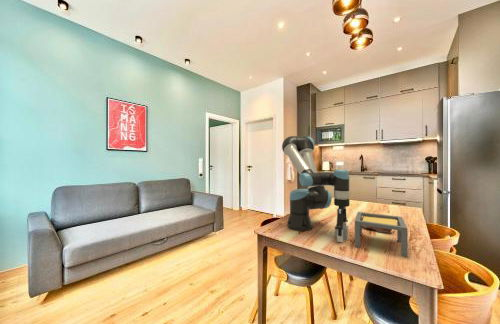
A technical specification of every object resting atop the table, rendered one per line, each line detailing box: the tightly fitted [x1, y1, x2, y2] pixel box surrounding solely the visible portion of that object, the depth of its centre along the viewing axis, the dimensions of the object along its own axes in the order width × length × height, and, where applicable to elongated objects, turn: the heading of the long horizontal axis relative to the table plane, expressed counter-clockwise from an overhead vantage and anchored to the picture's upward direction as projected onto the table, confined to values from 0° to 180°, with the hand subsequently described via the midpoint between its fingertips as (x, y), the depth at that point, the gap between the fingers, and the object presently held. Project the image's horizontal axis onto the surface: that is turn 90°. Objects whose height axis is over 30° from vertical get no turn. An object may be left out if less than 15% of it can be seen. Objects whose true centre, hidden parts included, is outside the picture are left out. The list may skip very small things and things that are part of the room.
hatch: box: [362, 216, 397, 227], centre depth 98 cm, size 14×14×1 cm
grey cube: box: [334, 223, 349, 242], centre depth 106 cm, size 6×6×6 cm
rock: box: [362, 216, 393, 234], centre depth 118 cm, size 16×11×15 cm
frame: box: [354, 211, 409, 258], centre depth 98 cm, size 20×20×12 cm
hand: (342, 237), depth 106 cm, fingers open, 13 cm apart
